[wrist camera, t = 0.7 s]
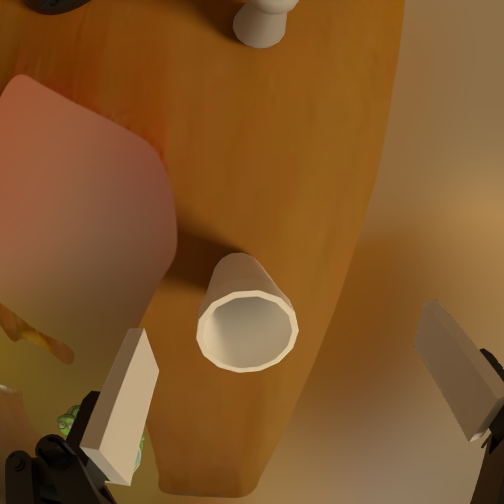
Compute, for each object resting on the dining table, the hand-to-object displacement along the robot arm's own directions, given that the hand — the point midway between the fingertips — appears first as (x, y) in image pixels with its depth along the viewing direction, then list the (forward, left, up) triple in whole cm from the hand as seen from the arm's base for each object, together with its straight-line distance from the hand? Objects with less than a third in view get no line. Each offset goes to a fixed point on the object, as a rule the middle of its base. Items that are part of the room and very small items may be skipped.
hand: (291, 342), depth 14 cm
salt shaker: (-16, +15, -26) cm, 34 cm away
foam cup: (+6, -6, -26) cm, 27 cm away
